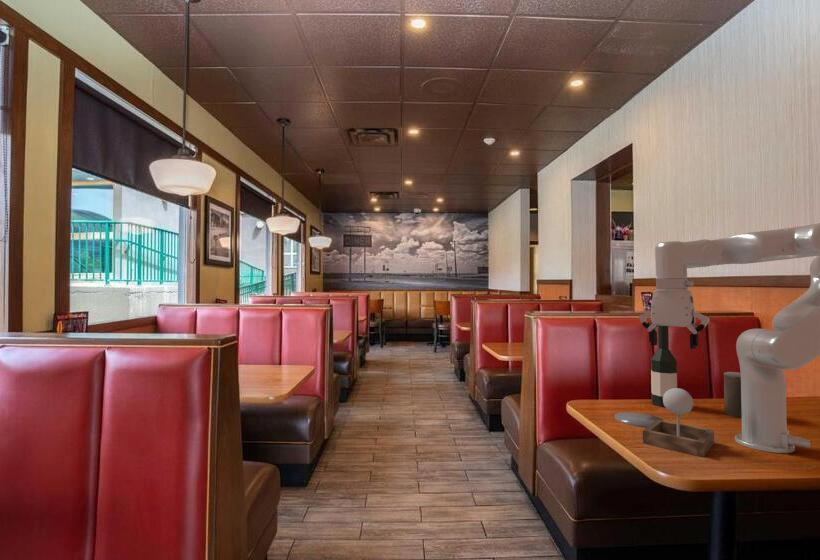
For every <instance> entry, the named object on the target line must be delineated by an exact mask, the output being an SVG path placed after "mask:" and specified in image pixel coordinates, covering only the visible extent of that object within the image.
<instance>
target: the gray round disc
mask: <svg viewBox="0 0 820 560" xmlns="http://www.w3.org/2000/svg"><path fill="white" fill-rule="evenodd" d="M614 419H615V420H616V421H617V422H620V423H623V424H625V425H629V426H633V427H639V428H647V427H648V426H649V425H650V424H652V423H653V422H654V421H656V420H657V419H658V420H663V419H662V418H661V417H658V416H655V415H653V414H647V413H640V412H632V411H631V412H629V411H628V412H626V411H625V412H618V413H616V414H615V415H614Z"/></svg>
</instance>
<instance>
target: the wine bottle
mask: <svg viewBox="0 0 820 560" xmlns="http://www.w3.org/2000/svg"><path fill="white" fill-rule="evenodd" d="M669 338H670V336H669V326H658V327H657V349H656V351H655V352H654V353H653V355H652V357H651V358H650V371H651V372H650V376H651V377H650V378H651V381H650V385H651V386H650V387H651V392H650V393H651V404H652V405H653V406H656V407H660V408H665V406H664V403H663V396H664V394H665V392H666V391H668V390H669V389H672V388H678V373H677V372H678V370H677V369H678V364H677V363H678V362H677V359H676V358H675V357H674V355H673V354H672V352H671V350H670V346H669V342H670V341H669V340H670V339H669Z"/></svg>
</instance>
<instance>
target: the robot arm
mask: <svg viewBox="0 0 820 560" xmlns="http://www.w3.org/2000/svg"><path fill="white" fill-rule="evenodd" d="M654 251H655V252H654V255H655V257H654V259H655V261H654V262H655V290H653V293H652V298H651V307H650V310H648V311H646V312H645V313H642V314H640V315H638V319H639V321H640V323H641V325H642V326H643V328H645V329H646V331H647V332H648V337H649V338H648V340H649V341H648V342H649V343H650V345H651V346H652V347H654V346H658V331H657V330H656V329H658V326H668V327H680V328H681V327H686V328H687V329H688V330H689V331H690V333H689V349H691V350H694V349H696V348H697V347H698V346H699V334H700V333H701V331H703V330H704V329H705V328H706V327H707V325H708V323H709V322H710V319H711V318H710V317H708V316H706V315H704V314H702V313H699V312H697V311H696V310H695V302H694V296H693V293H692V292H693V291H692V290H688V289H689V287H693V286H694V281H693V280H689V278H688V269H695V268H706V267H713V266H719V265H720V266H721V265H744V264H745V265H747V264H757V263H763V262H773V261H783V260H791V259H792V260H793V259H802V258H808V257H809V258H810V257H814V258H813V259H812V261H811V263H810V264H809V265H810V266H809V275H810V285H809V288H808V289H807V290H806V291H805V292H804V293H803V294H801V295H800V296H799V297H797V298H796V299H795V300H794V301H792V302H790V303H789V304H787V306H785V307H784V308H781V310H780V311H778V312H777V313H776V314H775V315H774V317H773V319H772V321H771V325H772V328H773V329H768V328H751V329H750V328H749V329H747V330H745V331H743V332H741V333H740V335H739V336H738V337H737V340H736V344H735V348H736V349H735V350H736V355H737V358H738V359H737V360H738V363H739V370H740V372H739V373H741V412H742V418H741V433H737V434H735V436H734V441H735V442H736V443H738V445H742V446H744V447H747V448H750V449H753V450H758V451H761V452H767V453H773V454H774V453H775V454H789V453H790V454H791V453H793V452H795V450H796V447H795V446H800V447H802V448H807V449H810V448H811V440H810V439H805V438H804V437H800V436H794V435H792V434H790V430H789V429H787V428H788V426H787V425H788V424H787V383H786V382H787V381H786V377H785V373H784V370H789V371H790V370H791V371H793V370H797V369H800V368H802V367H804V366H806V365H808V364H809V363H810V362H812V361H813V360H814V361H815V359H816V358H818V357H820V222H817V223H812V224H808V225H800V226H795V227H788V228H787V227H786V228H785V227H784V228H780V229H779V228H777V229H771V230H770V229H769V230H760V231H751V232H746V233H742V234H736V235H733V236H729V237H728V236H727V237H723V238H716V239H705V238H704V239H699V240H698V239H697V240H691V241H680V240H674V241H671V240H670V241H669V240H668V241H662V242H659V243H657V244H656V245H655V248H654ZM649 317H650V322H651V324H650V323H649V322H648V321H647V318H649ZM696 318H697V319H699V320H700V323H699V325H697V326H696V325H695V324H696Z"/></svg>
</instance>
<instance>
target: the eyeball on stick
mask: <svg viewBox="0 0 820 560" xmlns="http://www.w3.org/2000/svg"><path fill="white" fill-rule="evenodd" d="M663 403H664V406H665V407H666V408H665V407H664V408H665V409H667V411H669V412H670V413H671V414H674V415H676V423H677V436H680V424H681V423H680V422H681V421H680V416H681V415H682V416H683V415H686V414H689V413H690V411H692V409H693V408H694V399H693V397H692V395H691V394H690V393H689V391H687V390H685V389H683V388H678V387H677V388H672V389H669V390H668V391H666V392H665V394H664V396H663Z"/></svg>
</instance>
